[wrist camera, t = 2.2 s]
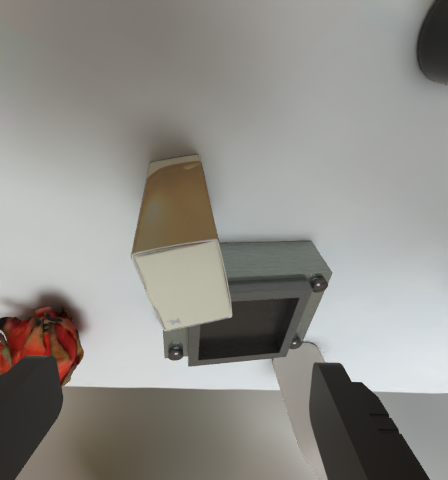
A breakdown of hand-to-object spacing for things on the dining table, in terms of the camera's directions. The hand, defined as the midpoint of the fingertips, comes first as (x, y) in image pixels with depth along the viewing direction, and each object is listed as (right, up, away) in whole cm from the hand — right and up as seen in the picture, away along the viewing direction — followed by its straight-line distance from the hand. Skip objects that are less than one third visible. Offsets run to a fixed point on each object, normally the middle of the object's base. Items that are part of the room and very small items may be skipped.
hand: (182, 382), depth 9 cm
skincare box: (-2, +9, +16) cm, 18 cm away
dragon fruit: (-19, -5, +23) cm, 30 cm away
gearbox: (+2, -1, +24) cm, 24 cm away
